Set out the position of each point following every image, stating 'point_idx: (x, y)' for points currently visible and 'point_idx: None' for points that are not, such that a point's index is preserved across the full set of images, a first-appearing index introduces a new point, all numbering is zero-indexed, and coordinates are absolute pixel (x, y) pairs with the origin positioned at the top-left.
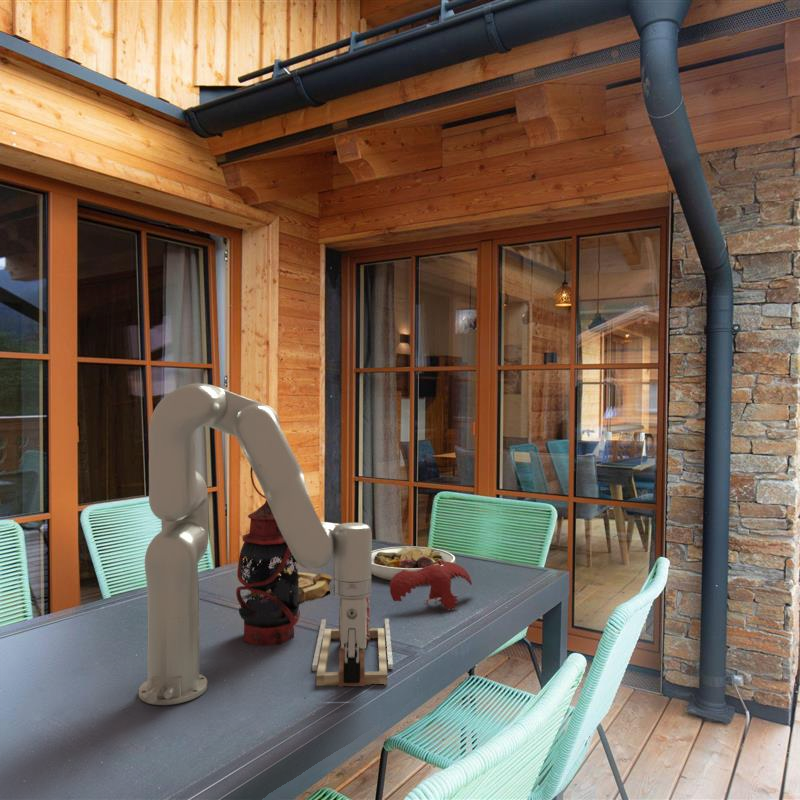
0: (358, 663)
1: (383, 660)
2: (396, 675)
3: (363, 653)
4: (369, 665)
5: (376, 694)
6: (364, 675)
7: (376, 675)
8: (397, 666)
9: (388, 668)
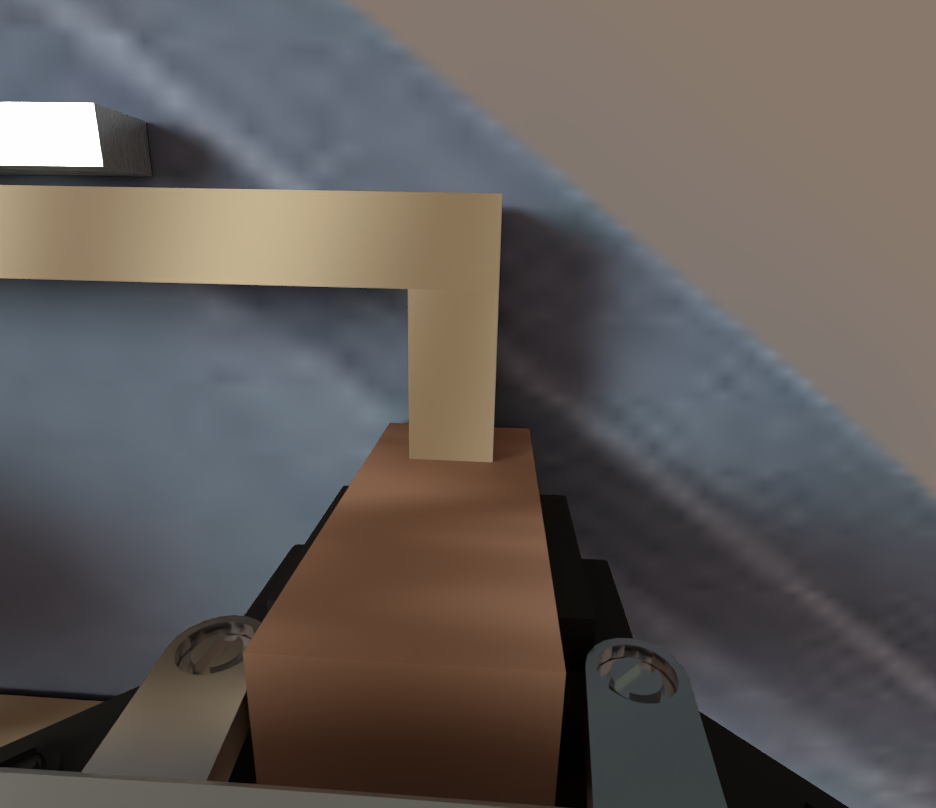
0: (656, 650)
1: (84, 224)
2: (256, 84)
3: (555, 657)
4: (49, 362)
5: (681, 321)
6: (535, 469)
7: (495, 328)
8: (26, 59)
9: (135, 169)
